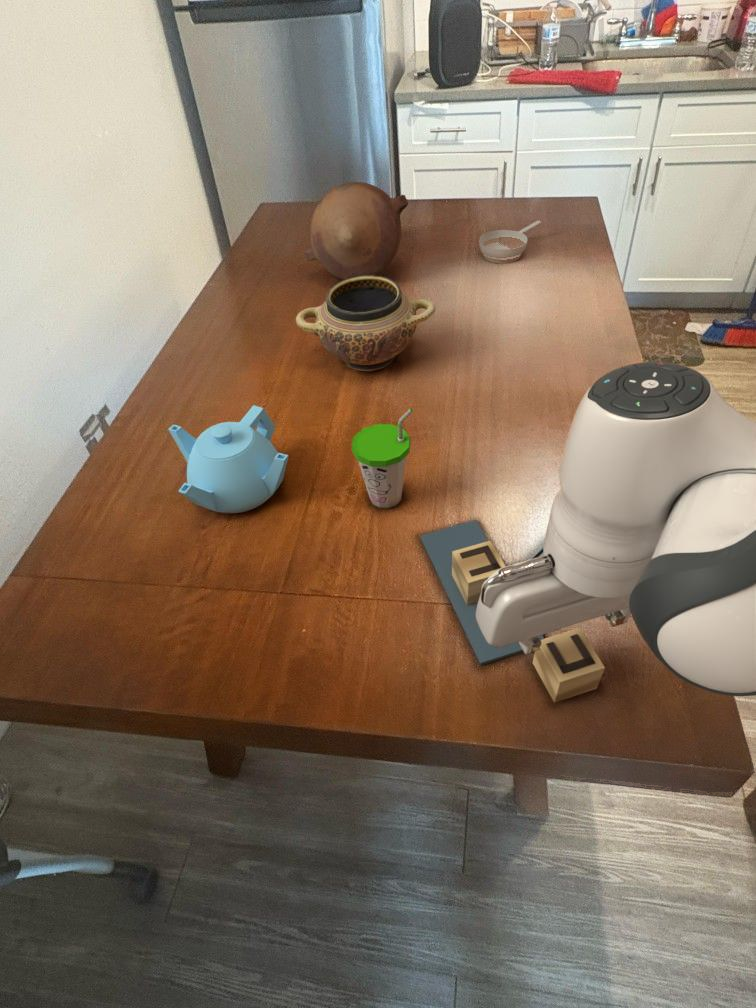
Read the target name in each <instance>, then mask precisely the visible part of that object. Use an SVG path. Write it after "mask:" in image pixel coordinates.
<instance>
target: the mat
mask: <svg viewBox="0 0 756 1008" xmlns="http://www.w3.org/2000/svg"><path fill="white" fill-rule="evenodd" d="M419 536H420V537H419V539H420V541H421V542H422V545H423V547H424V549H425V551H426V554H427V556H428V558H429V560H430V562H431V564H432V567H433V568H434V570H435V573H436V574H437V577H438V579H439V581H440V584H441V585H442V587H443V590H444V592H445V593H446V595H447V597H448V600H449V602H450V604H451V606H452V609H453V610H454V613H455V614H456V617H457V619H458V621H459V623H460V625H461V628H462V630H463V632H464V634H465V635H466V638H467V640H468V642H469V644H470V646H471V649H472V651H473V654H474V655H475V657H476V659H477V661H478V663H479V665H480V666H483V665H486V664H490V663H493V662H496V661H499V660H502V659H505V658H509V657H512V656H515V655H518V654H521V653H524V652H523V650H522V648H521V646H520V644H519V642H516V643H513V644H509V645H506V646H503V647H499V648H497V647H494V646H492V645H490V644H489V643H488V642H487V641H486V639H485V638H484V636H483V634H482V632H481V630H480V628H479V625H478V623H477V620H476V609H477V605H478V602H477V603H474V604H470V605H467V604H466V602H465V600H464V598H463V596H462V594H461V592H460V590H459V588H458V586H457V584H456V582H455V580H454V578H453V576H452V551H456V550H459V549H463V548H466V547H470V546H473V545H477V544H480V543H484V542H487V541H489V539H488V538H487V536H486V535H485V532H484V531H483V529H482V527H481V526H480V525H479V522H478V521H477V519H473V520H471V521H467V522H463V523H460V524H456V525H452V526H448V527H445V528H442V529H438V530H435V531H434V530H433V531H430V532H427V533H424V534H420V535H419ZM538 637H539V638H540V640H542V639H545V638H546V637H545V636H544V634H542V635H539V636H538Z"/></svg>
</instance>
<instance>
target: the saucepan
mask: <svg viewBox="0 0 756 1008" xmlns="http://www.w3.org/2000/svg"><path fill="white" fill-rule="evenodd" d="M541 224H542V221H541V220H535V222H532V223H530V224H529V225H527V226H526V227H524V228H522V229H520V230H518V231H517V230H513V229H511V230H510V229H497V230H492V231H488V232H486V233H483V234H481V236H480V237H479V239H478V246H479V250H480V252H482V253H483V254H485V255H487V256H490V257H496V258H507V257H512V256H516V255H519V254H521V253H522V252H523V251H524V252H525V251H526V249H527V246H528V240H529V239H528V236H527V235H526V234H525V233H527V232H529V231H530V230H532V229H534V228H536V227H537V226H539V225H541ZM499 237H512V238H517V239H520V240H521V241H523V242H524V243H525V244H524V245H522V246H520V247H517V248H513V249H510V248H508V247H507V246H506V245H505V246H506V247H505V246H504V245H503V244H502V245H503V246H502V245H501V244H500V243H498V242H496V243H491V244H488V245H486V246H484V245H482V244H483V243H484V242H485V241H488V240H490V239H493V238H499ZM499 244H500V245H499ZM524 252H523V253H524ZM482 253H481V254H482ZM483 254H482V256H483V258H484V259H485V261H489V262H491V263H496V264H508V263H513V262H516V261H518V260H519V259H520V258H521V257H522V255H520V256H519V257H516V258H513V259H507V260H497V259H491V258H488V257H486V256H484V255H483Z"/></svg>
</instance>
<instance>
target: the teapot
mask: <svg viewBox="0 0 756 1008" xmlns="http://www.w3.org/2000/svg"><path fill="white" fill-rule="evenodd" d="M275 428H276V425H275V423H274V422H273V420H272V418H271V417H270V415H269V414H268V412H267V411H266V409H265V408H264V407H262V406H258V405H254V404H253V405H252V406H251V407H250V409H249V410H248V411H247V412H246V414H245V415H244V416H243V417H242V419H240V421H239V422H238V421H226V422H225V421H224V422H220V423H216V424H214V425H211V426H210V427H208V428H206V429H205V430H203V432H201V433H200V435H198V437H197V438H196V437H194V436H193V435H192V434H190V433H189V432H188V431H187V430H185V429H184V428H183V427H182V426H180V425H177V424H172V425H171V426H170V427H169V428H168V432H169V434H170V435H171V437H172V439H173V440H174V442H175V444H176V446H177V447H178V449H179V451H180V452H181V454H182V456H183V457H184V460H185V461H186V463H187V465H186V482H184V483H182V486H181V487H180V488H179V490H178V491H177V492H178V494H180V495H182V496H183V497H184V498H186V499H188V500H189V501H191V502H192V503H193V504H195V505H197V506H200V507H202V508H205V509H207V510H209V511H213V512H216V513H222V514H240V513H241V514H242V513H246V512H248V511H251V510H254V509H256V508H258V507H260V506H262V505H263V504H264V503H265V502H267V501H268V500H269V499H270V498H271V497H272V496H273V495H274V494H275V492H276V491H277V490H278V489H279V487H280V485H281V484H282V482H283V481H284V477H285V473H286V469H287V464H288V461H289V454H286V453H281V452H278V450H277V449H276V447H275V446H274V444H273V443H272V442H271V441H272V437H273V435H274V431H275Z"/></svg>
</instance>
